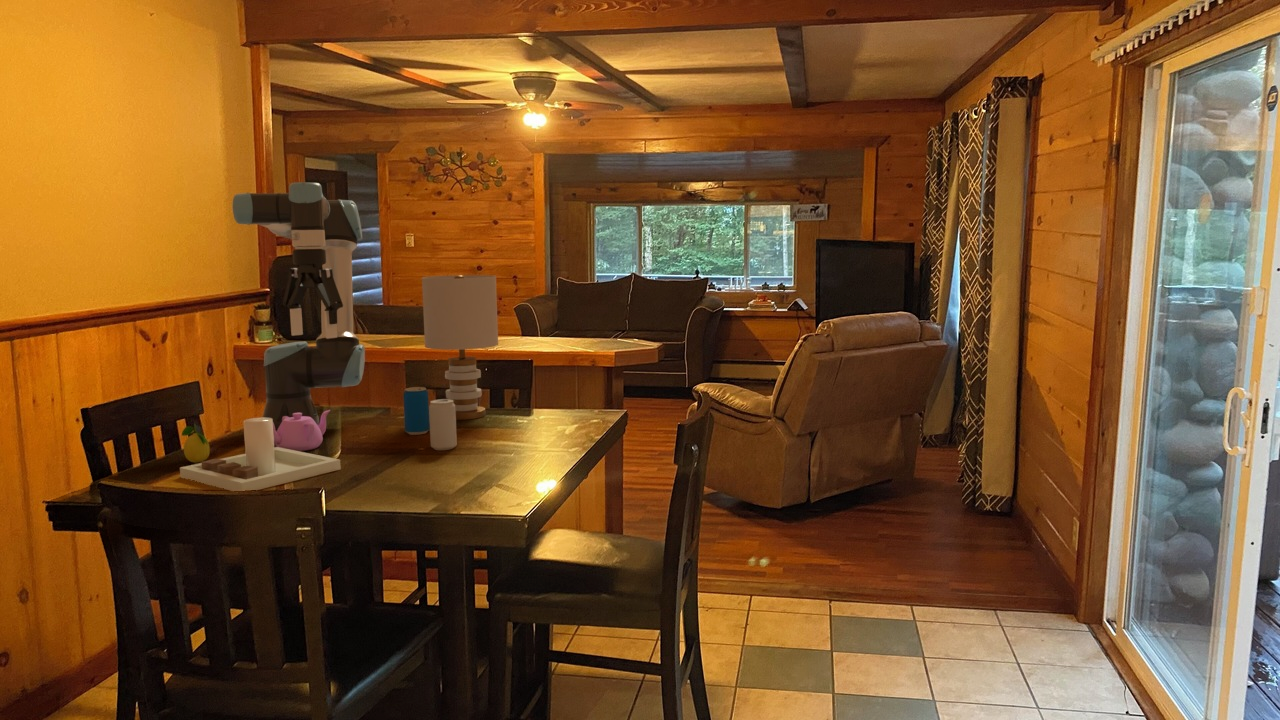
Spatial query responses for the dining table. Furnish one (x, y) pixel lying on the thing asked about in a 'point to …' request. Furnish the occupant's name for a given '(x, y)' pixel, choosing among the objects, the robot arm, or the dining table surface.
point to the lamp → (461, 331)
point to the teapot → (300, 432)
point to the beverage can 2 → (442, 424)
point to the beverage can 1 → (416, 410)
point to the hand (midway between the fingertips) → (314, 336)
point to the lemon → (195, 445)
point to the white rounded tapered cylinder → (260, 444)
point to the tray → (287, 470)
